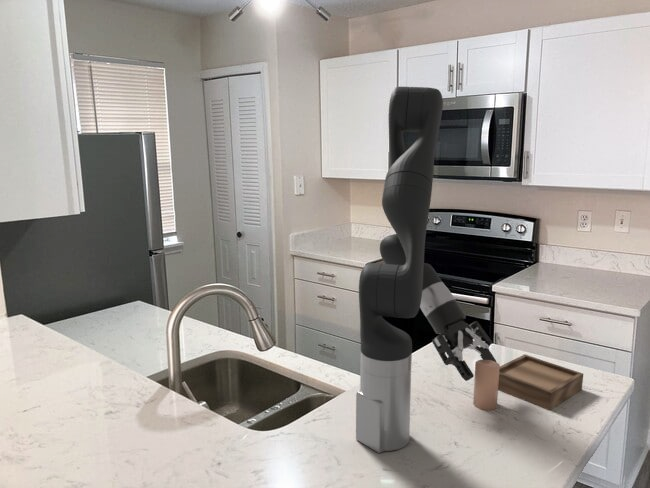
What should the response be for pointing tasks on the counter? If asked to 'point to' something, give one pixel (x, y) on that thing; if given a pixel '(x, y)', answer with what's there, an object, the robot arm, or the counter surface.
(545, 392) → the square brown tray
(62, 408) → the counter surface
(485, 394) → the tan cylinder
